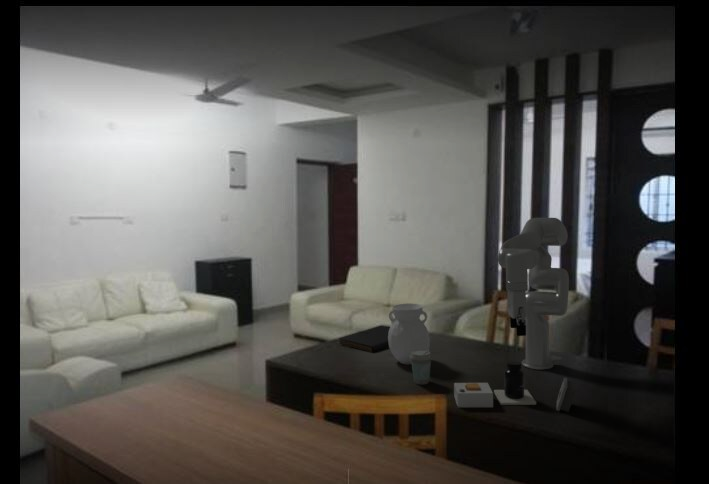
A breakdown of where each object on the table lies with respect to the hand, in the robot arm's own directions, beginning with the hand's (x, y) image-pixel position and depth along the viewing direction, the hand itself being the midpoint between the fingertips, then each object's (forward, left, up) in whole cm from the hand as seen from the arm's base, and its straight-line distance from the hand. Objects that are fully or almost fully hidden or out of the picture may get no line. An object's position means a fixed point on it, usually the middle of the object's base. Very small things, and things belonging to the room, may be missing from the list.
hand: (518, 331), depth 186 cm
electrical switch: (-12, +15, -23) cm, 30 cm away
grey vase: (+39, -36, -23) cm, 58 cm away
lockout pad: (+3, +7, -22) cm, 24 cm away
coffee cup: (+35, -10, -23) cm, 43 cm away
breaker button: (+18, +10, -21) cm, 29 cm away
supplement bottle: (+3, +7, -22) cm, 23 cm away
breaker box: (+18, +10, -22) cm, 31 cm away
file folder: (+54, -70, -23) cm, 91 cm away
